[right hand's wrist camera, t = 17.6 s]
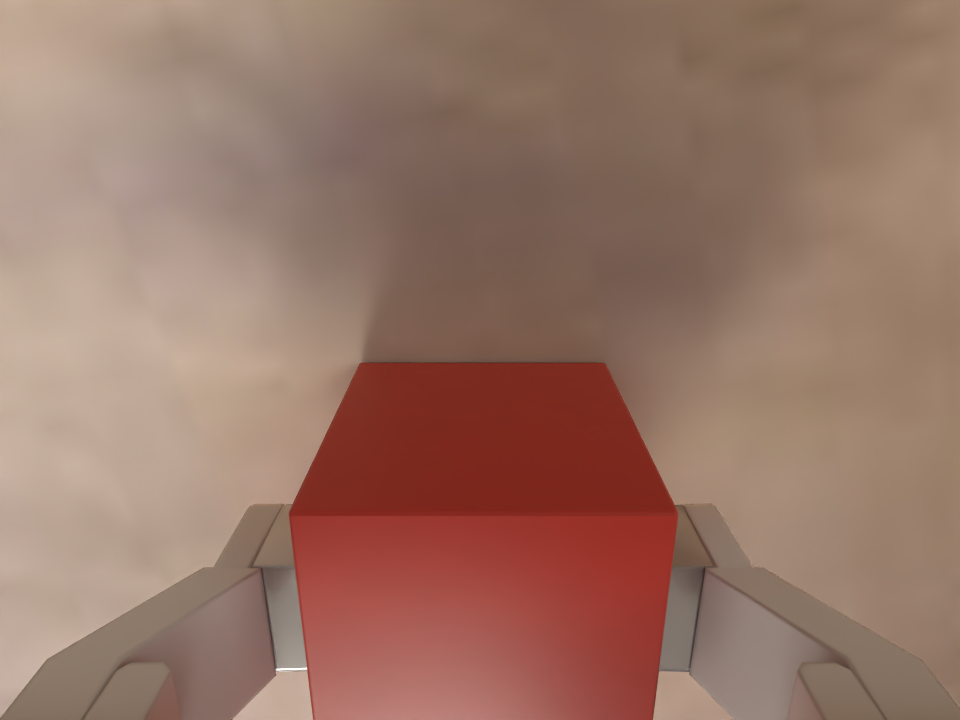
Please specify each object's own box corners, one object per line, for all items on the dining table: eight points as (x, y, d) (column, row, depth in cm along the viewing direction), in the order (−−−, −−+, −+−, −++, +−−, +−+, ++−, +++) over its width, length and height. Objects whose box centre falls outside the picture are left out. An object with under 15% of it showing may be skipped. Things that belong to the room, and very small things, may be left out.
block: (589, 586, 13) (641, 818, 9) (375, 586, 13) (323, 816, 9) (605, 361, 11) (680, 512, 7) (359, 362, 11) (286, 512, 7)
